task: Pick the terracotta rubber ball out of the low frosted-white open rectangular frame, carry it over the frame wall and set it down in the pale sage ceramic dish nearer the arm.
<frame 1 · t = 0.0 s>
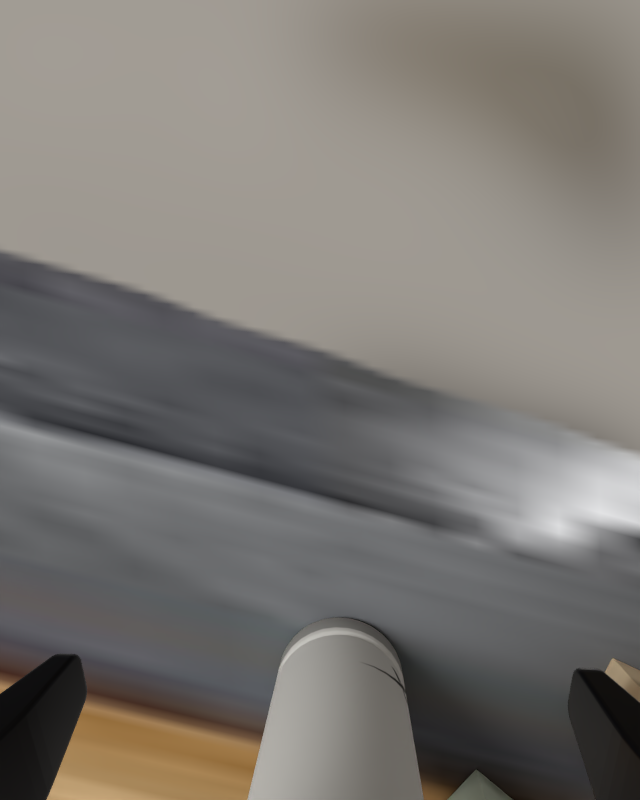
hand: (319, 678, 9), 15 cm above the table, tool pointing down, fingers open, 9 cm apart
travel mug: (341, 668, 25), on the table
oak cube: (630, 709, 24), on the table
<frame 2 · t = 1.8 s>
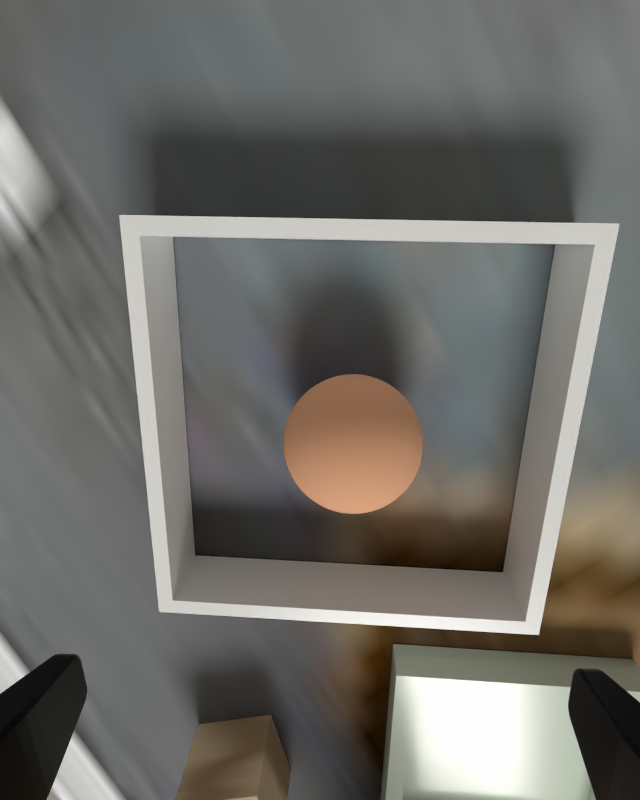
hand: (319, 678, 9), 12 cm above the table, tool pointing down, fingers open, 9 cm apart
dish: (496, 738, 25), on the table
ball: (352, 443, 18), in the open rectangular frame
oak cube: (245, 745, 26), on the table
open rectangular frame: (352, 419, 20), on the table
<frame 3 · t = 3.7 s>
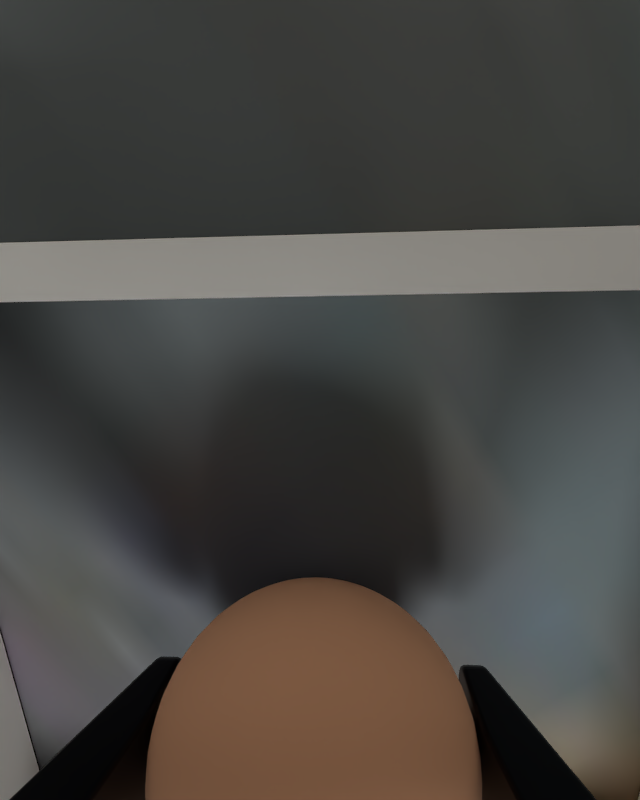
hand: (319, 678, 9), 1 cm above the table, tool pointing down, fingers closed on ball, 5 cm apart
ball: (314, 746, 8), in the open rectangular frame, touching gripper
open rectangular frame: (322, 627, 10), on the table
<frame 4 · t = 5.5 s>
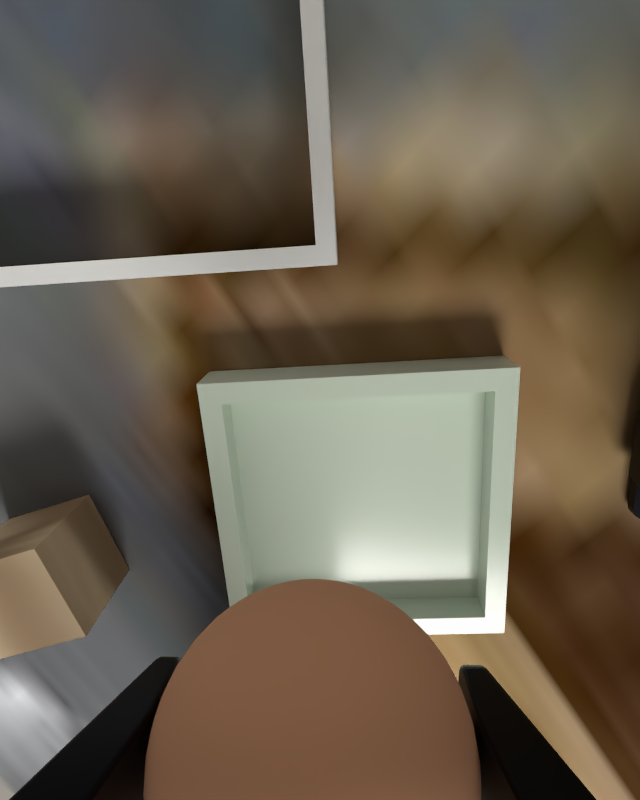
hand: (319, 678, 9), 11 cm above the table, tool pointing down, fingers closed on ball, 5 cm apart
dish: (359, 494, 20), on the table
ball: (313, 749, 8), point 13 cm above the table, touching gripper
oak cube: (71, 543, 22), on the table
open rectangular frame: (87, 30, 16), on the table
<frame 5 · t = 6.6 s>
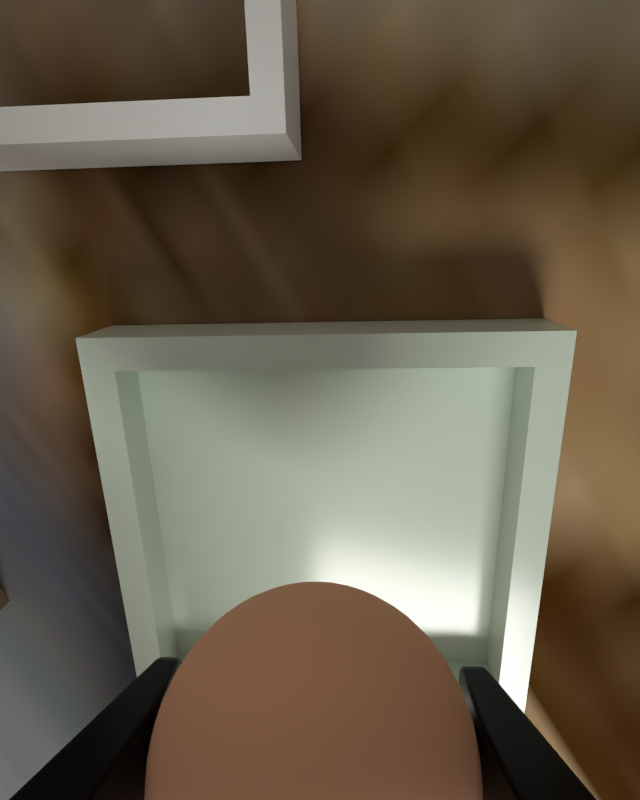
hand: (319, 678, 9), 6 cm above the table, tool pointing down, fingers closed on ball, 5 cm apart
dish: (327, 512, 14), on the table
ball: (314, 752, 8), point 7 cm above the table, touching gripper
when the fingers open (3 cm above the table, at t = 7.4 s): ball drops 1 cm, resting on dish.
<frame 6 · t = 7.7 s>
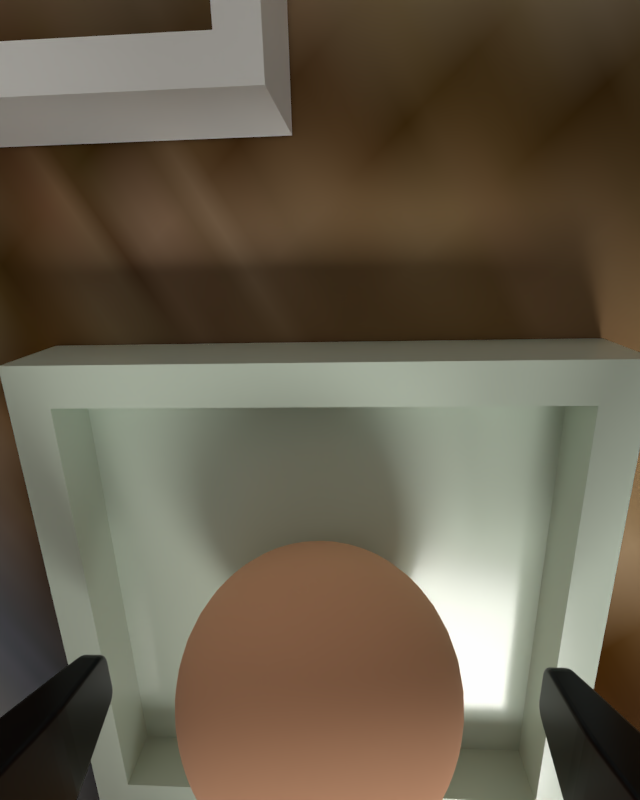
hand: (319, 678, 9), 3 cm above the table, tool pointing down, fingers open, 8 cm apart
dish: (325, 572, 12), on the table
ball: (319, 685, 9), in the dish, point 3 cm above the table
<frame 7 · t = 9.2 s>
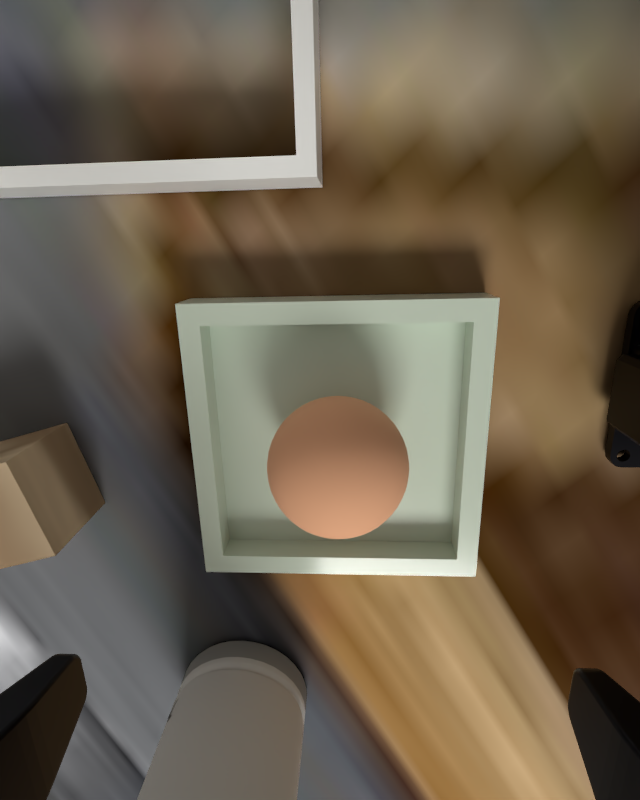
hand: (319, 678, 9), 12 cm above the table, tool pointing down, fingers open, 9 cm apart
travel mug: (244, 684, 25), on the table
dish: (337, 432, 20), on the table
ball: (337, 466, 17), in the dish, point 3 cm above the table
oak cube: (48, 473, 22), on the table
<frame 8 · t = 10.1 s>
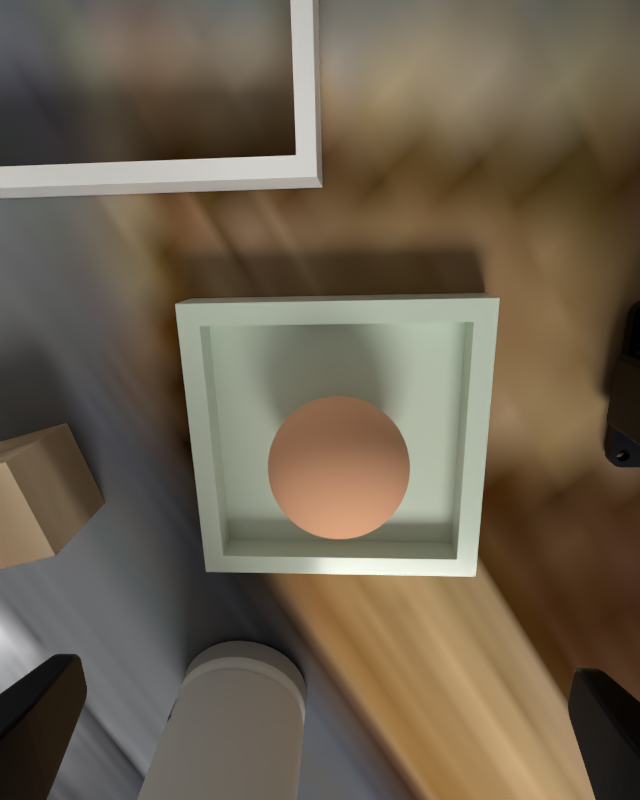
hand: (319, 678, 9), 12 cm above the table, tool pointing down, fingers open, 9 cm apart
travel mug: (244, 684, 25), on the table
dish: (337, 432, 20), on the table
ball: (338, 466, 17), in the dish, point 3 cm above the table
oak cube: (47, 473, 22), on the table
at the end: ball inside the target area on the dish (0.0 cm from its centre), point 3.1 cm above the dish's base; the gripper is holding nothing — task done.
